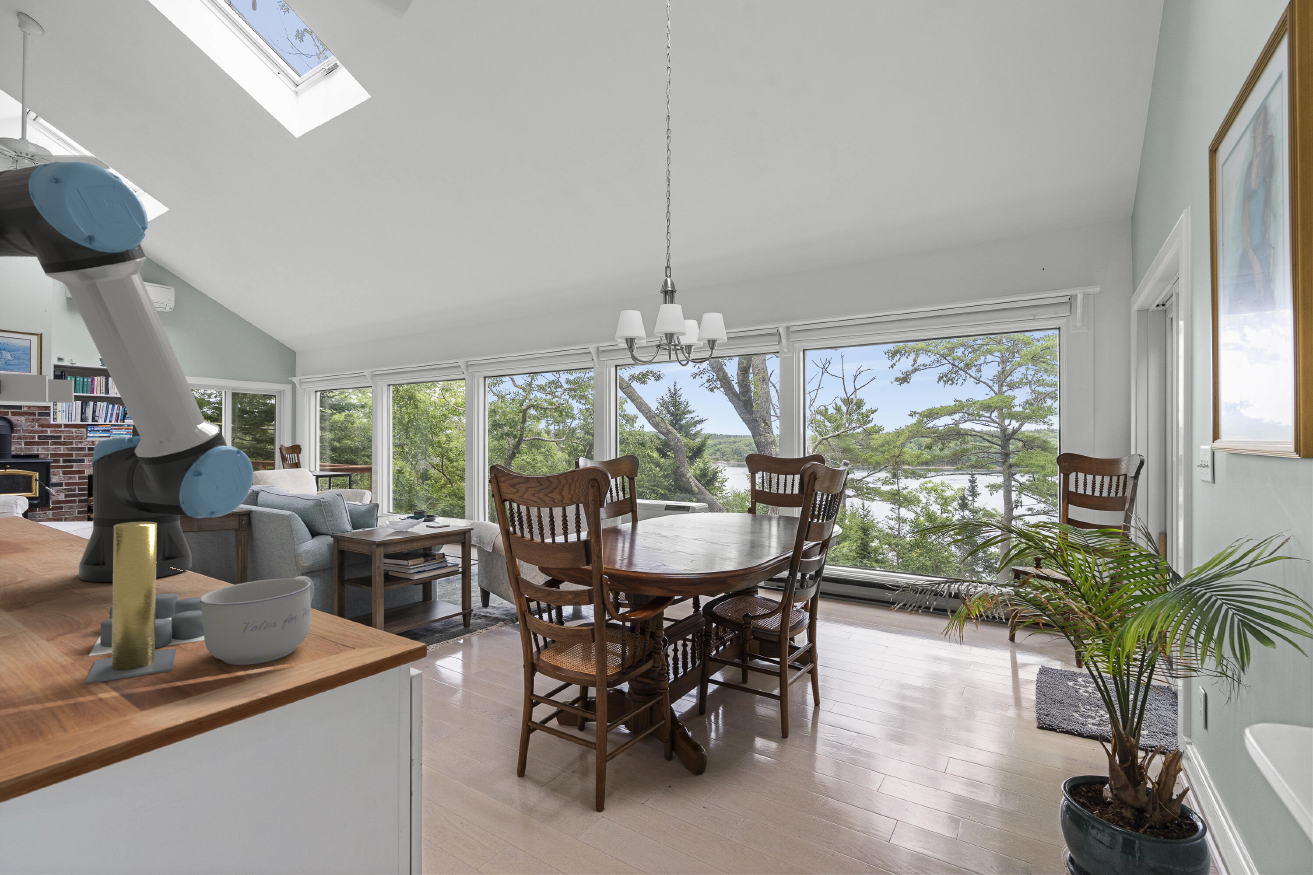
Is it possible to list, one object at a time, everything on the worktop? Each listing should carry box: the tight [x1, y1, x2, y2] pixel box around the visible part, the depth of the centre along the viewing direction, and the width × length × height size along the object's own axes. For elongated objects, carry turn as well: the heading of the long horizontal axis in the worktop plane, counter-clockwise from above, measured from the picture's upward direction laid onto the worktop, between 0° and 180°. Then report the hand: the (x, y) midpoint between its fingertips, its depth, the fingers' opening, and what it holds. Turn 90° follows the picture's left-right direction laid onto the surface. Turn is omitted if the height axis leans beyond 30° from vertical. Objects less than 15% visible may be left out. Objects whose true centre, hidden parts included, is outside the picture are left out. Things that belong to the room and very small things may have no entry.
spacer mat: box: [88, 593, 205, 657], centre depth 82 cm, size 17×11×3 cm, turn 33°
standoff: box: [111, 522, 157, 670], centre depth 70 cm, size 4×4×15 cm
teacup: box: [200, 575, 315, 666], centre depth 76 cm, size 14×11×8 cm
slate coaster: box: [84, 648, 178, 685], centre depth 70 cm, size 7×7×1 cm
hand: (61, 390), depth 73 cm, fingers open, 13 cm apart
